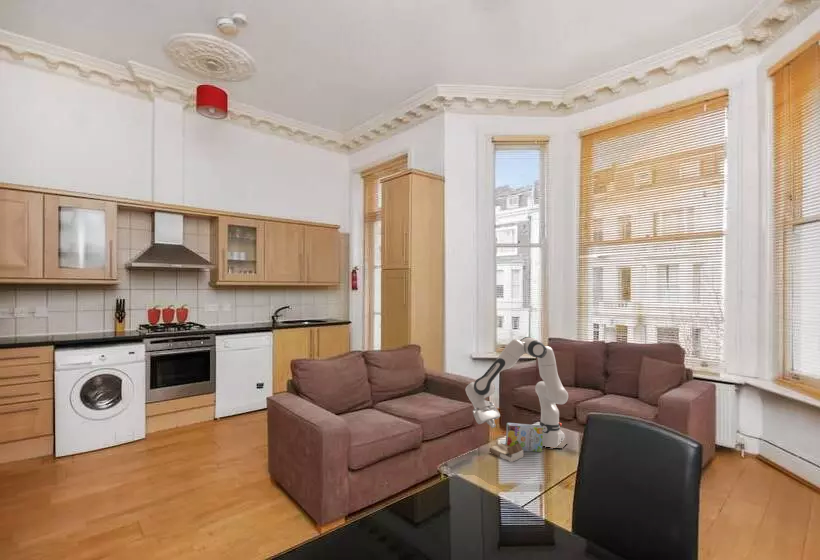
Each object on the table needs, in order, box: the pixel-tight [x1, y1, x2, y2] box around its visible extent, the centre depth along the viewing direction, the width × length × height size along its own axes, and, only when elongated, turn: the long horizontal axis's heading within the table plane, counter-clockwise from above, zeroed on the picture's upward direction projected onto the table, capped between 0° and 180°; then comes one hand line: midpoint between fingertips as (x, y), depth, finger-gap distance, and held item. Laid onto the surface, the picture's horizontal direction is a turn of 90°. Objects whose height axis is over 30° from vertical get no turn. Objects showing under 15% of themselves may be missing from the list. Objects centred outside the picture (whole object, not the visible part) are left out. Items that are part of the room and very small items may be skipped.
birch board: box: [489, 443, 510, 458], centre depth 246 cm, size 12×11×3 cm
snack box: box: [505, 422, 543, 453], centre depth 255 cm, size 21×6×15 cm, turn 86°
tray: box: [499, 450, 524, 463], centre depth 241 cm, size 12×8×4 cm, turn 132°
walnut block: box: [507, 443, 523, 455], centre depth 240 cm, size 4×4×7 cm
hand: (493, 427), depth 251 cm, fingers closed
